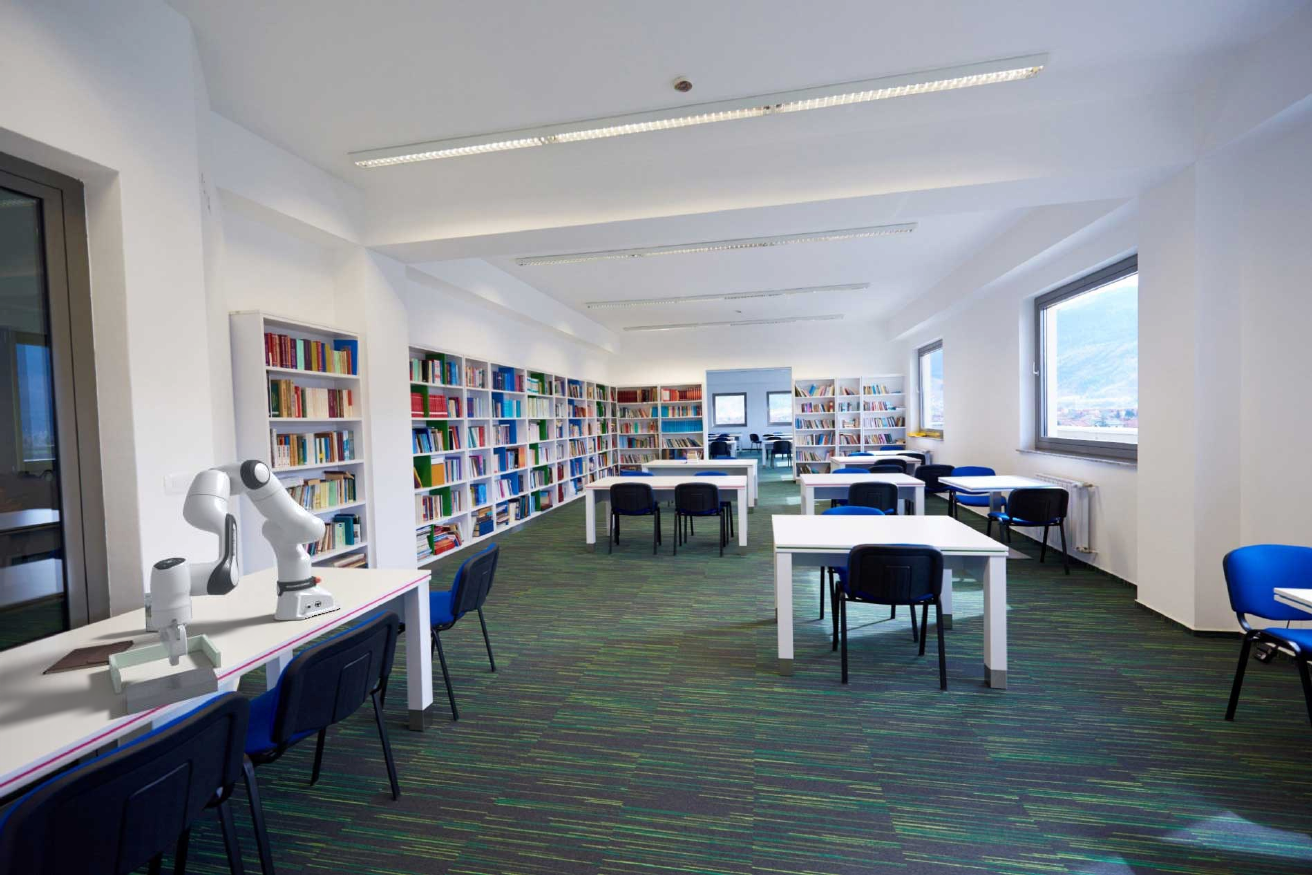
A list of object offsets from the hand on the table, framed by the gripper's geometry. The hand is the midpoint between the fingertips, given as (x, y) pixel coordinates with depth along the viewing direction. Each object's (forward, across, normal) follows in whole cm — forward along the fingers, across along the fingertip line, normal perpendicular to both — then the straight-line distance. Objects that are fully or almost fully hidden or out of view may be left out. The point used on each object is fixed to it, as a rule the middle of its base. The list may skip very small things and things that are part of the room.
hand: (174, 664), depth 162 cm
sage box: (+5, +14, 0) cm, 15 cm away
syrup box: (+6, +63, -4) cm, 63 cm away
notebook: (+6, +44, +15) cm, 47 cm away
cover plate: (+5, -11, +2) cm, 12 cm away
